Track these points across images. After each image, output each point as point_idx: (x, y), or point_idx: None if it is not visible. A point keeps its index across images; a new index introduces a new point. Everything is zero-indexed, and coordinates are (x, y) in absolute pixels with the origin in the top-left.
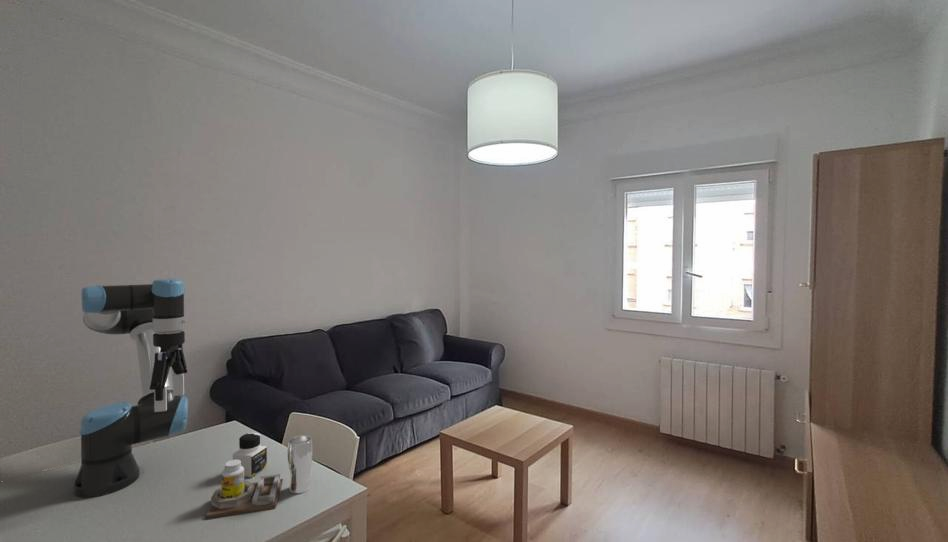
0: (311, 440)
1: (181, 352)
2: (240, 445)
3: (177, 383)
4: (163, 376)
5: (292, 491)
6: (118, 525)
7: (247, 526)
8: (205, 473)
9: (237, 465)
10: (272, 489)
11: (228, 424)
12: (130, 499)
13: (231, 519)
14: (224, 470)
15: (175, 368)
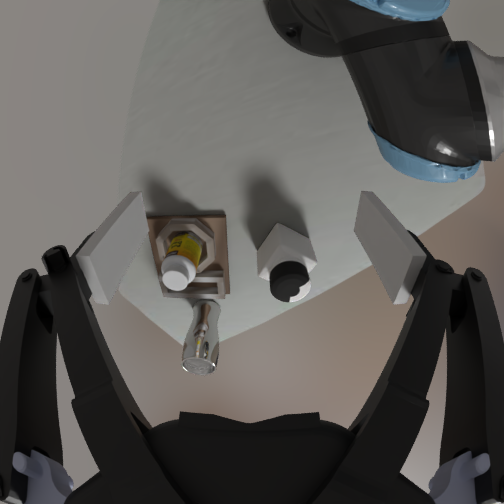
0: (199, 373)
1: (440, 449)
2: (278, 268)
3: (381, 243)
4: (50, 359)
5: (195, 304)
6: (152, 95)
7: (129, 266)
8: (303, 173)
9: (168, 286)
10: (180, 294)
11: (484, 182)
12: (237, 71)
13: (144, 247)
14: (174, 261)
15: (411, 315)
